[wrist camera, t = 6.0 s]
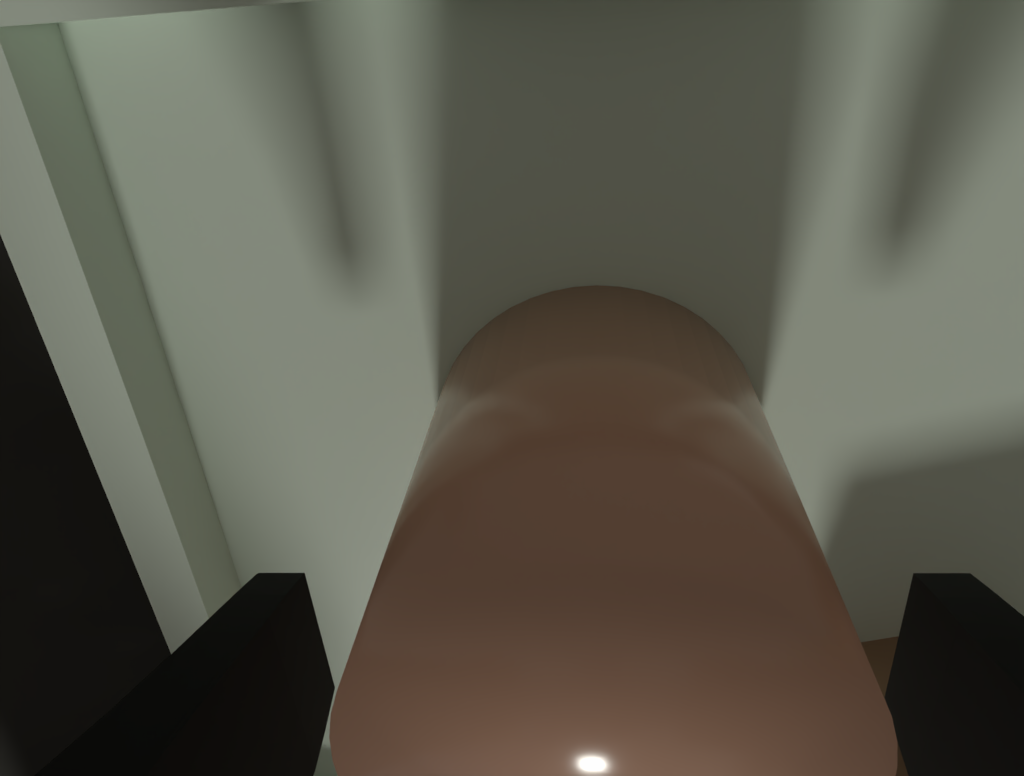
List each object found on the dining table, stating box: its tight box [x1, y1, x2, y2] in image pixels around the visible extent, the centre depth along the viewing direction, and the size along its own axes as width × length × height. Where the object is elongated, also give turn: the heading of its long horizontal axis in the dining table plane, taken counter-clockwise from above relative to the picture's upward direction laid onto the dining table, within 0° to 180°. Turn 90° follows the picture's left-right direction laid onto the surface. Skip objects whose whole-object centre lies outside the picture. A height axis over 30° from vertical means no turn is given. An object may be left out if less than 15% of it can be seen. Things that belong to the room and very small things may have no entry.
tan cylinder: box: [329, 285, 897, 776], centre depth 10 cm, size 5×5×6 cm
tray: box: [0, 0, 1024, 776], centre depth 12 cm, size 18×18×2 cm
